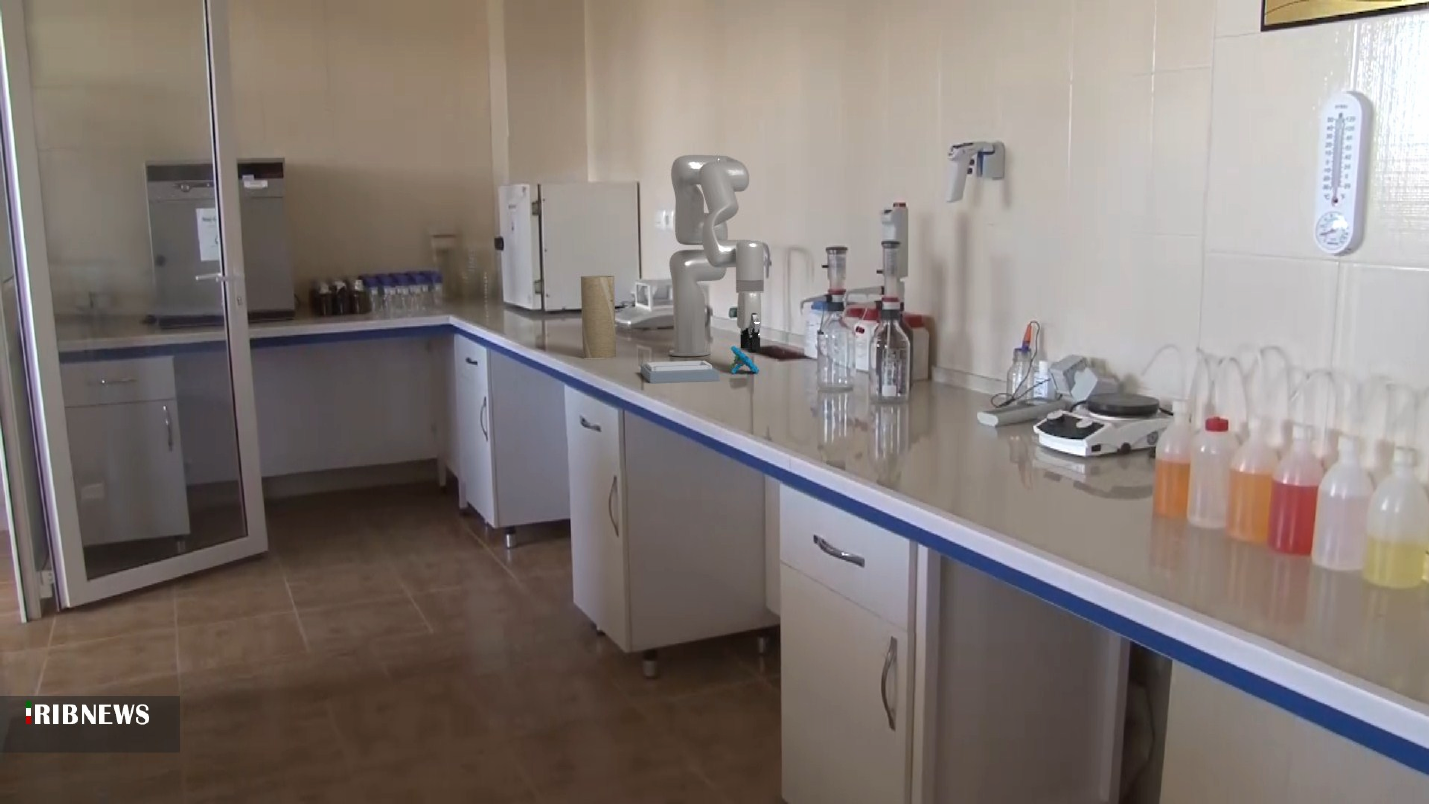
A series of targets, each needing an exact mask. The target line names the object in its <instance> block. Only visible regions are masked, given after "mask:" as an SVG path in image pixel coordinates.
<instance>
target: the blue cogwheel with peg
mask: <svg viewBox="0 0 1429 804" xmlns="http://www.w3.org/2000/svg"><path fill="white" fill-rule="evenodd" d="M730 350H731V351H732V353H733V354H734V355H735V356H734V357H733V358H734V359H733V363H731V365H730V366H729V367H728V369H729V370H731V373H732V374H733V375H734V374H735V373H736V372H737V371H738V370H739V369H740V368H741V367H743V366H745V367H747V368H749V370H751V371H752V372H753V373H755V374H758V373H759V372H760V370H759V367H758V366H757V365H756V364H754V363H753V361H752V359H751V358H749V356H747V355H746V354H745V353H744V352H742V351H741V349H739V348H738V347H736V346H734V345H732V346H731V348H730Z"/></svg>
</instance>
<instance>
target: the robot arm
mask: <svg viewBox="0 0 1429 804" xmlns="http://www.w3.org/2000/svg"><path fill="white" fill-rule="evenodd" d="M670 171H671V172H670V174H671V175H670V177H671V184H672V187H673V192H674V197H675V198H674V199H675V204H674V205H675V207H674V208H675V213H674V214H675V215H674V216H675V217H674V234H675V240H676V241H677V242H678V243H679V244H680V245H684V246H702V248H703V249H699V248H697V249H695V248H694V249H681V250H678V251H675V252H674V253H673V254H672V255H670V258H669V261H668V262H669V263H668V264H669V265H668V266H669V273H670V278H671V284H672V298H673V299H672V300H673V301H672V302H673V303H672V304H673V310H672V311H673V349H670V350H669V351H668V355H669V356H673V357H702V356H703V357H704V356H709V355H710V354H711V350H710V349H706V303H705V302H706V301H705V299H706V298H705V294H704V291H703V290H702V288H701V287H700V286H699V284H698V282H714V281H716V282H717V281H720V280H722V279H724V277H725V275H726V274H727V268H735V293H736V294H738V295H737V306H736V307H737V310H736V326H737V327H738V328H739V330H740V335H739V337H740V338H739V339H740V348H741V349H740V350H745V349H746V350H747V352H748V353H751V354H752V353H753V354H755V353H761V332H760V331H761V330H760V329H761V328H762V298H761V293H762V294H763V293H765V285H764V284H765V282H764V281H765V280H764V279H765V275H764V274H765V270H764V269H765V267H764V266H765V263H764V261H765V260H764V259H765V258H764V257H765V256H764V254H765V253H764V251H765V249H764V243H763V242H761V240H760V241H759V240H750V239H729V237H728V236H729V234H728V233H729V232H728V229H729V228H728V224H727V221H730V219H732V218H733V217H734V216H736V215H737V213H738V212H739V207H740V206H739V202H738V199H737V196H736V194H735V192H737V193H740V192H741V193H742V192H744V191H745V190H746V189H747V188H748V187H749V183H750V174H749V171H748V168H747V166H746V165H745V164H744V163H743V162H741V160H737V159H735V158H733V157H730V156H727V155H717V154H716V155H713V154H712V155H711V154H710V155H708V154H707V155H706V154H687V155H686V154H685V155H681V156H678V157H676V158H675V159H674V160H673V163H672V165H671V170H670ZM698 185H699V186H701V189H700V188H699V186H698ZM701 190H702V191H701ZM705 203H706V207H707V210H708V212H705Z"/></svg>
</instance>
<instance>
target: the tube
mask: <svg viewBox="0 0 1429 804" xmlns="http://www.w3.org/2000/svg"><path fill="white" fill-rule="evenodd" d="M615 294H616V293H615V275H584V276H583V275H582V276H580V296H581V297H580V299H581V328H582V332H581V333H582V358H583V357H584V358H610V359H614V358H613V357H615V356H616V357H617V349H616V348H617V346H616V345H617V344H616V343H617V341H616V340H617V337H616V308H615V307H616V306H615V305H616V304H615V303H616V302H615V301H616V300H615V299H616V298H615ZM616 357H615V358H616ZM584 358H583V359H584Z"/></svg>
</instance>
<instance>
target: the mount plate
mask: <svg viewBox="0 0 1429 804" xmlns="http://www.w3.org/2000/svg"><path fill="white" fill-rule="evenodd" d="M640 374H641V375H642V376H643V377H644V378H645V380H647V382H648V383H650V384H660V383H661V384H663V383H664V384H665V383H689V382H690V383H691V382H692V383H693V382H697V383H698V382H719V381H720V370H718V369H716V368H715V367H714V366H713V365H712V364H710V363H709V362H708V361H706V360H687V361H685V360H684V361H682V360H681V361H654V362H653V361H652V362H650V361H649V362H645V364H644V363H643V364H640Z"/></svg>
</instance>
